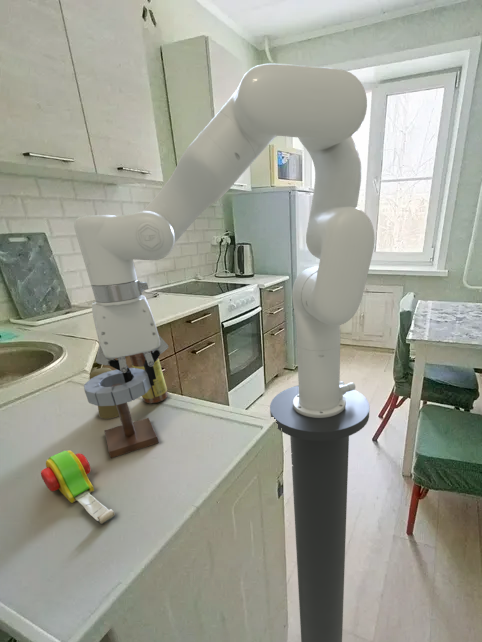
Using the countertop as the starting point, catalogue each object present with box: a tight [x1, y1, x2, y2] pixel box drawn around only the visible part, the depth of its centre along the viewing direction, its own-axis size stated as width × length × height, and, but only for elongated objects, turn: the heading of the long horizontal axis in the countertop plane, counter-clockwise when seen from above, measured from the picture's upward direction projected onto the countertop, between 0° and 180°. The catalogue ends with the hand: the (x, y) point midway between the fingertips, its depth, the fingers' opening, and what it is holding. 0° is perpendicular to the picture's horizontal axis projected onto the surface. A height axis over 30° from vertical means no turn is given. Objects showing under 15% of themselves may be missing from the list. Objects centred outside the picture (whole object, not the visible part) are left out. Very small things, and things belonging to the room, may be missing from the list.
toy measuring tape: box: [40, 449, 116, 525], centre depth 57 cm, size 6×19×7 cm, turn 51°
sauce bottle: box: [129, 351, 169, 404], centre depth 85 cm, size 7×6×20 cm
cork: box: [88, 367, 120, 420], centre depth 82 cm, size 6×6×11 cm
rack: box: [104, 383, 159, 459], centre depth 70 cm, size 9×9×12 cm
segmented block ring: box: [83, 367, 151, 407], centre depth 68 cm, size 11×11×3 cm
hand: (141, 385), depth 70 cm, fingers closed on segmented block ring, 2 cm apart
